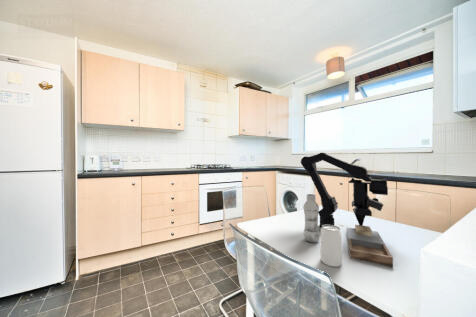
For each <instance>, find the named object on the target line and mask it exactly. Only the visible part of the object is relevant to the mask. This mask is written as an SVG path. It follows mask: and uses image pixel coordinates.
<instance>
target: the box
mask: <svg viewBox="0 0 476 317" xmlns="http://www.w3.org/2000/svg"><path fill="white" fill-rule="evenodd" d="M348 244H349V246H348V252H349V258H350V259H353V260H358V261H363V262H367V263H374V264H377V265H382V266H387V267H394V258H393V256H392V254H391V252H390V250H389V249H388V247H387V245H386V244H382V245H383V250H381V249H375V248H369V247H364V246H358V245H352V243H351V239H347V245H348Z"/></svg>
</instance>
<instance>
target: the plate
mask: <svg viewBox="0 0 476 317" xmlns="http://www.w3.org/2000/svg"><path fill="white" fill-rule="evenodd" d="M346 238H347V240H348V239H351V243H352V245H358V246H364V247H369V248H375V249H381V250H383V245H382V244H385V242H384V240H383V238H382V237H381V235H380V233H379V232H378V231H376V230H375V231H374V230H372V237H371V236H364V235H357V234H356V231H355V227H354V228H353V227H346ZM347 245H348V247H349V244H348V243H347ZM385 245H386V244H385Z"/></svg>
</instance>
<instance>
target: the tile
mask: <svg viewBox="0 0 476 317" xmlns="http://www.w3.org/2000/svg"><path fill="white" fill-rule="evenodd" d="M354 228H355V231H356V234H357V235H364V236H371V237H372V231H373V230H372V228H371V227H370V225H369V226H367V225H363V226H362V225H359V224H355V225H354Z"/></svg>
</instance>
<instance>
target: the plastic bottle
mask: <svg viewBox="0 0 476 317" xmlns="http://www.w3.org/2000/svg"><path fill="white" fill-rule="evenodd" d="M319 211H320V207H319V204H318V202H316V194H314V193H312V194H311V193H307V194H306V201H305V202H304V204H303V213H304V230H303V238H304V240H305V241H306V242H309V243H317V242H319V241H320V231H319V224H318V220H319V213H318V212H319Z"/></svg>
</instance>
